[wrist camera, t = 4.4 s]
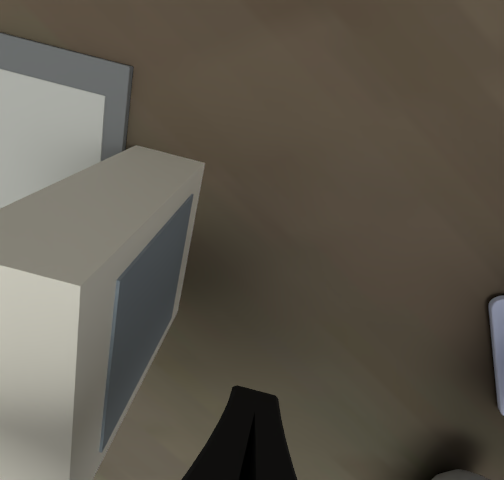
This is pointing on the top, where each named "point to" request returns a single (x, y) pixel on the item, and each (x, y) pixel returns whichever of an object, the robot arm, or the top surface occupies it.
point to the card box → (87, 305)
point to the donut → (458, 475)
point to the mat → (56, 114)
